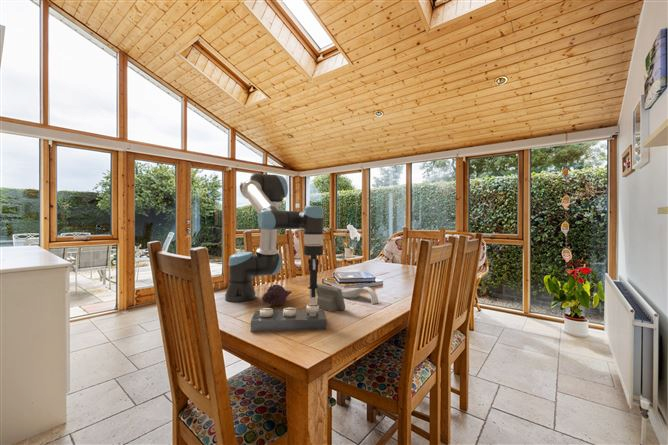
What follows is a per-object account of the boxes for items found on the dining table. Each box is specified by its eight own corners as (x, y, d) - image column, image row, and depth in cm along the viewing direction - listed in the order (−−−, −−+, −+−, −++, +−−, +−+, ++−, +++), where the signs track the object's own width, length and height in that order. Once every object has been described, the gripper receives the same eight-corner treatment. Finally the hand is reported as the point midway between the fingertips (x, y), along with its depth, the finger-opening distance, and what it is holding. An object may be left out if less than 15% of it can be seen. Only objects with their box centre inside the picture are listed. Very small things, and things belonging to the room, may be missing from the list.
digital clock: (347, 310, 140) (347, 287, 140) (331, 314, 135) (331, 290, 135) (326, 302, 154) (327, 281, 153) (311, 305, 148) (311, 283, 148)
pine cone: (269, 312, 136) (269, 289, 136) (254, 308, 142) (254, 286, 142) (296, 303, 151) (296, 283, 151) (281, 299, 157) (281, 280, 156)
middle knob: (282, 325, 118) (282, 310, 118) (283, 321, 123) (283, 307, 123) (295, 325, 118) (296, 310, 118) (296, 321, 123) (296, 306, 123)
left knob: (258, 326, 117) (258, 311, 117) (260, 322, 122) (260, 307, 122) (272, 326, 117) (272, 311, 117) (273, 321, 122) (273, 307, 122)
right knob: (306, 321, 119) (306, 307, 119) (306, 317, 124) (306, 303, 124) (319, 321, 119) (319, 306, 119) (318, 317, 124) (318, 303, 124)
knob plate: (250, 331, 113) (250, 321, 113) (255, 320, 125) (255, 311, 125) (326, 329, 116) (326, 319, 116) (323, 319, 128) (323, 309, 128)
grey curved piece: (334, 296, 165) (334, 283, 165) (349, 293, 174) (349, 280, 174) (368, 306, 148) (368, 291, 148) (383, 302, 157) (383, 288, 156)
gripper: (324, 246, 115) (323, 309, 115) (321, 243, 128) (321, 300, 128) (304, 246, 114) (303, 309, 114) (303, 243, 127) (303, 300, 127)
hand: (312, 304), depth 121 cm, fingers closed
